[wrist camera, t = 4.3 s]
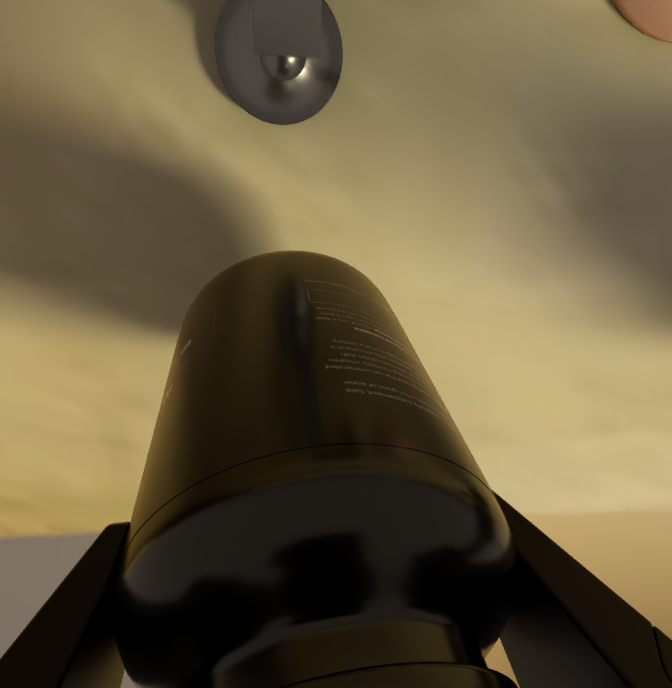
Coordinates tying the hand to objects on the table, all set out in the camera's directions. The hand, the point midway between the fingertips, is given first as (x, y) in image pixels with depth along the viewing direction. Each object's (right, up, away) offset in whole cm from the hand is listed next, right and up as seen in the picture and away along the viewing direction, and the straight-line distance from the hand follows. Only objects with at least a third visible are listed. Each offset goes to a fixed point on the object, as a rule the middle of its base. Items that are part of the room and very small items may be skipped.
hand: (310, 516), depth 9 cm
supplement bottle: (-1, +4, +6) cm, 7 cm away
